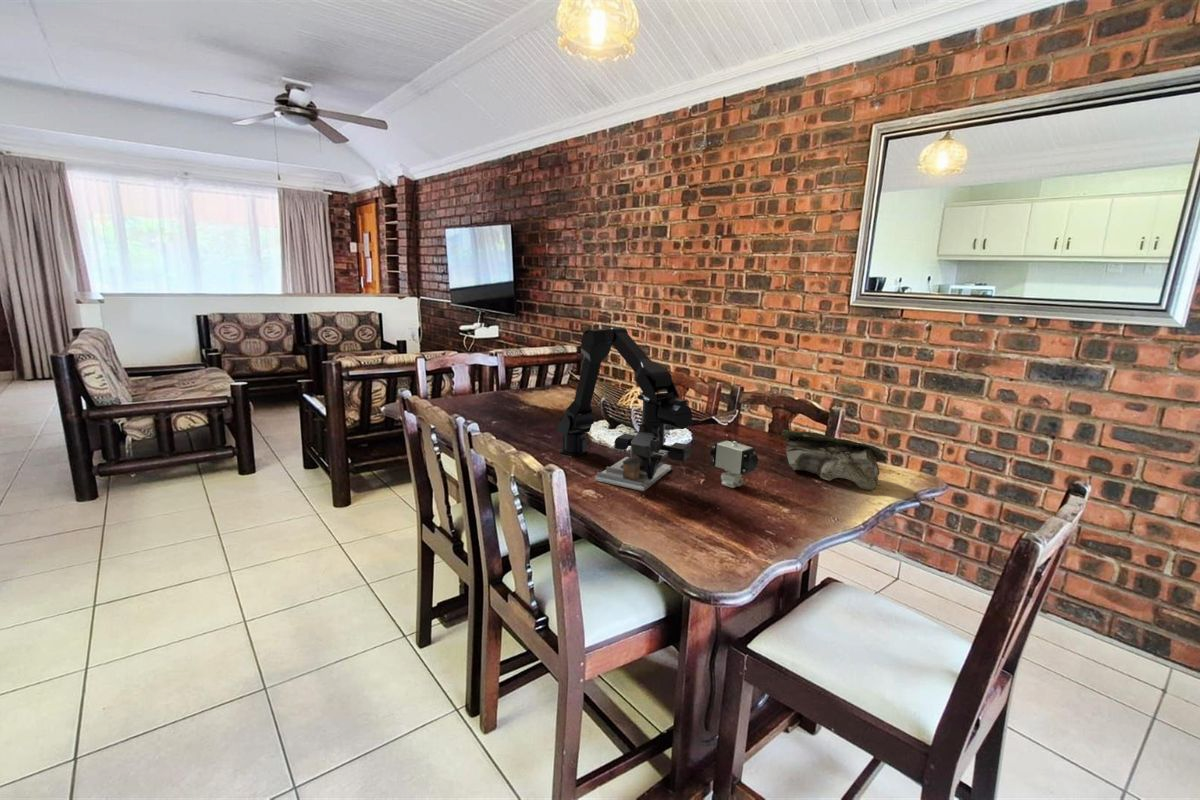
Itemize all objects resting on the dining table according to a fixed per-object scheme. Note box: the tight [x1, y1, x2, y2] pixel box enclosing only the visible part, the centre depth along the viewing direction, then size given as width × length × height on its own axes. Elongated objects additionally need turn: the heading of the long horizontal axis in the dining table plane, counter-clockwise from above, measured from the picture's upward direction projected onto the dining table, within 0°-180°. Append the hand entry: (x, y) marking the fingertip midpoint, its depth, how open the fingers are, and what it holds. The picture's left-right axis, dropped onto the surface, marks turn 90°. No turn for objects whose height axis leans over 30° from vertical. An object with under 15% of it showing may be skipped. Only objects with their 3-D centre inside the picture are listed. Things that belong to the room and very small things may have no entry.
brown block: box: [623, 456, 640, 480], centre depth 140 cm, size 3×4×5 cm
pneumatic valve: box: [709, 439, 759, 489], centre depth 140 cm, size 6×12×12 cm, turn 42°
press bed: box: [594, 456, 672, 492], centre depth 147 cm, size 14×19×2 cm
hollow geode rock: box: [781, 429, 890, 491], centre depth 148 cm, size 28×13×15 cm
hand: (650, 478), depth 137 cm, fingers closed
